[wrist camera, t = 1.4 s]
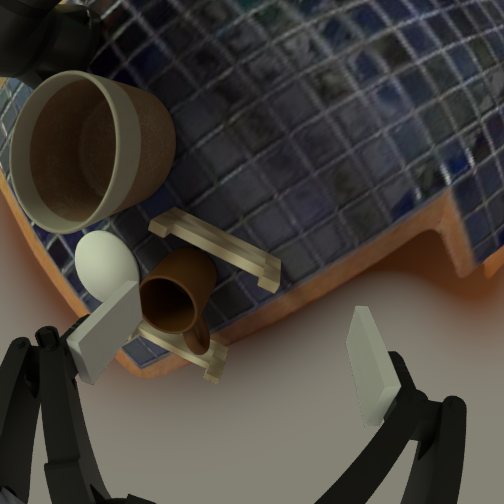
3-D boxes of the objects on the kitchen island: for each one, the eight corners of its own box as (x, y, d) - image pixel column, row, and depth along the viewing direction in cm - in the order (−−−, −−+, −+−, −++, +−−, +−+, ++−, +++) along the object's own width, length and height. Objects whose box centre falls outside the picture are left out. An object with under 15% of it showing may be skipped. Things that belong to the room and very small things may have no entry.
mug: (241, 313, 40) (229, 357, 31) (195, 327, 42) (175, 368, 33) (202, 236, 37) (177, 264, 28) (155, 256, 38) (122, 286, 30)
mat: (73, 280, 42) (70, 282, 41) (84, 217, 38) (82, 218, 37) (130, 316, 42) (128, 318, 42) (149, 253, 38) (147, 255, 38)
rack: (138, 308, 42) (117, 333, 35) (174, 206, 36) (151, 219, 29) (225, 352, 43) (216, 384, 36) (281, 259, 36) (279, 284, 30)
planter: (109, 224, 38) (45, 259, 25) (66, 133, 33) (-4, 139, 21) (200, 167, 34) (150, 180, 21) (147, 66, 30) (84, 37, 17)
